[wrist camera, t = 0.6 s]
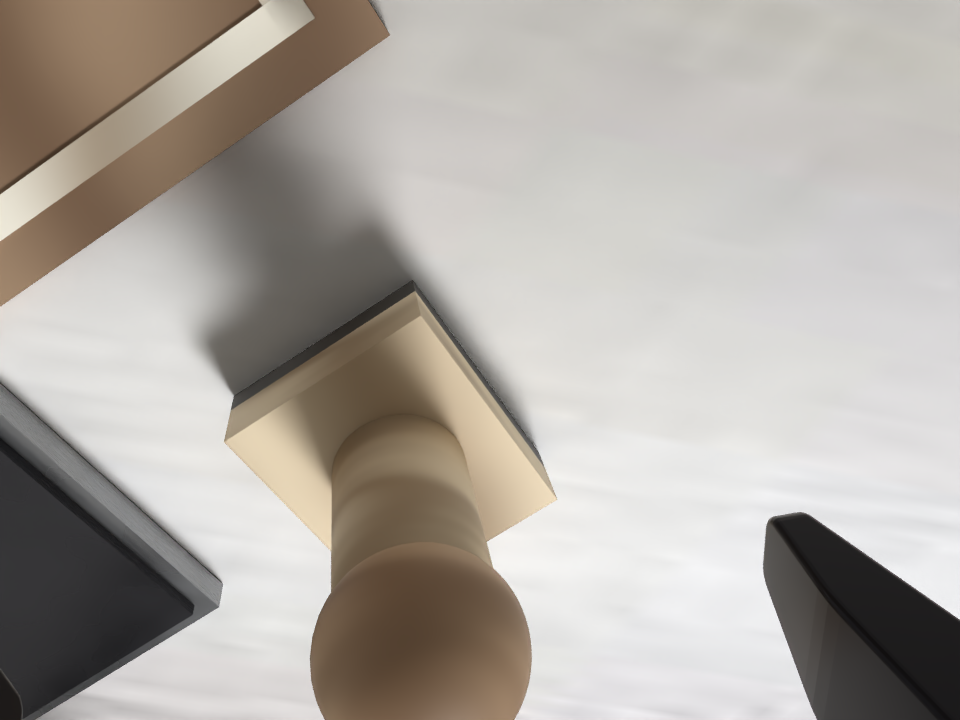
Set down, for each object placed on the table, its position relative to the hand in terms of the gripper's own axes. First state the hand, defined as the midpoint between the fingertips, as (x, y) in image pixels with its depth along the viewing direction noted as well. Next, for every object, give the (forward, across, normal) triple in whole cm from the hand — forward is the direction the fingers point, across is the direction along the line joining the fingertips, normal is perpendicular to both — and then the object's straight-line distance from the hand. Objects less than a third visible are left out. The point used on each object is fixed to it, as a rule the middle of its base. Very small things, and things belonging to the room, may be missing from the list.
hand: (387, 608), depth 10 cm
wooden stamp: (+13, +1, +7) cm, 15 cm away
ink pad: (+12, +13, +9) cm, 20 cm away
